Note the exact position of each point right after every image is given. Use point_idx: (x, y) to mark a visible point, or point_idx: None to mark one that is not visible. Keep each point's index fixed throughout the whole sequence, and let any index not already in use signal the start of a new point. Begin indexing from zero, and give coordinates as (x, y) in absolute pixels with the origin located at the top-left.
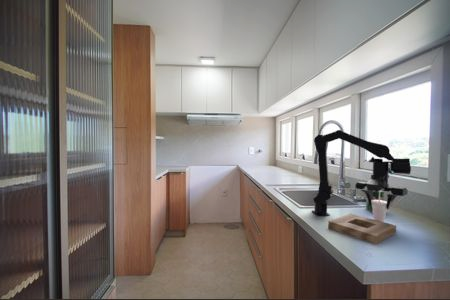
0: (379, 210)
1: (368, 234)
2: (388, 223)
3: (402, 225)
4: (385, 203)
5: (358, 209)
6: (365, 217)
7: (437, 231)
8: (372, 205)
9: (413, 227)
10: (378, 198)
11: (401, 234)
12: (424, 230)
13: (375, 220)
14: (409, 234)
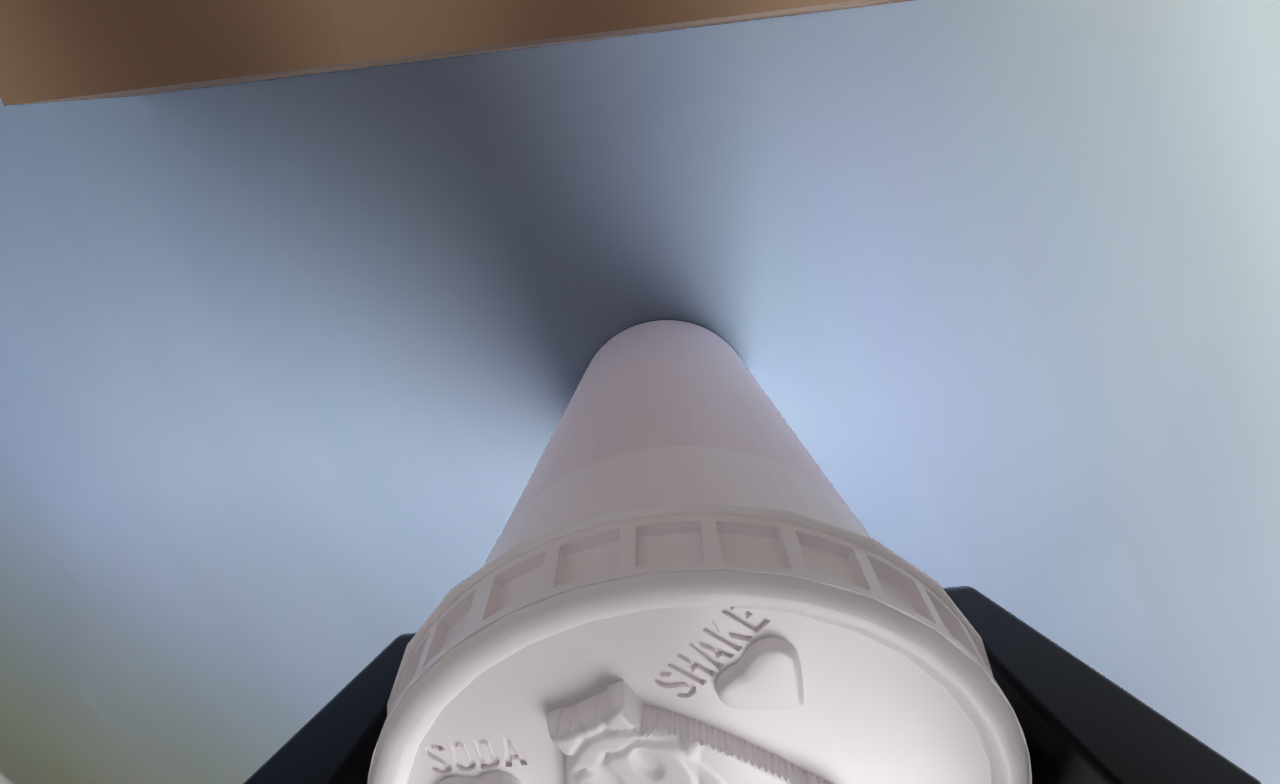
0: (580, 453)
1: None
2: (183, 81)
3: (396, 607)
4: (371, 760)
5: None
6: (805, 4)
7: (63, 748)
8: (855, 529)
9: (274, 653)
10: None
11: (44, 110)
12: (132, 655)
13: (496, 2)
14: (20, 262)
